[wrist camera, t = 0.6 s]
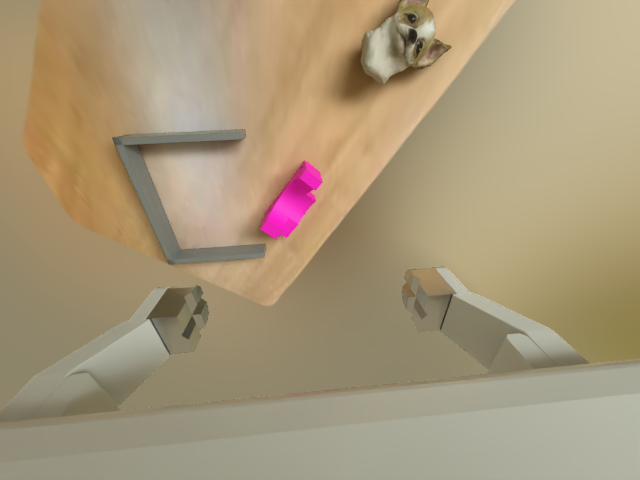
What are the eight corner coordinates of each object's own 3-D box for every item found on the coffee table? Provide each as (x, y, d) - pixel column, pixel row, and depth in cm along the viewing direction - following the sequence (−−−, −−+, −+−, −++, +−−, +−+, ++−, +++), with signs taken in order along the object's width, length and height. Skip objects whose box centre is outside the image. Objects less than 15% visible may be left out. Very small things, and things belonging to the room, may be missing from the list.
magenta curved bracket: (287, 228, 55) (286, 245, 49) (264, 213, 53) (260, 229, 47) (328, 178, 50) (332, 190, 44) (305, 160, 48) (306, 169, 41)
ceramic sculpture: (354, 20, 31) (462, -56, 29) (340, 37, 38) (425, -23, 36) (383, 102, 36) (477, 43, 34) (365, 103, 43) (441, 55, 41)
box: (126, 134, 43) (111, 137, 39) (244, 129, 44) (240, 131, 40) (177, 254, 56) (169, 264, 53) (266, 248, 57) (264, 257, 54)
